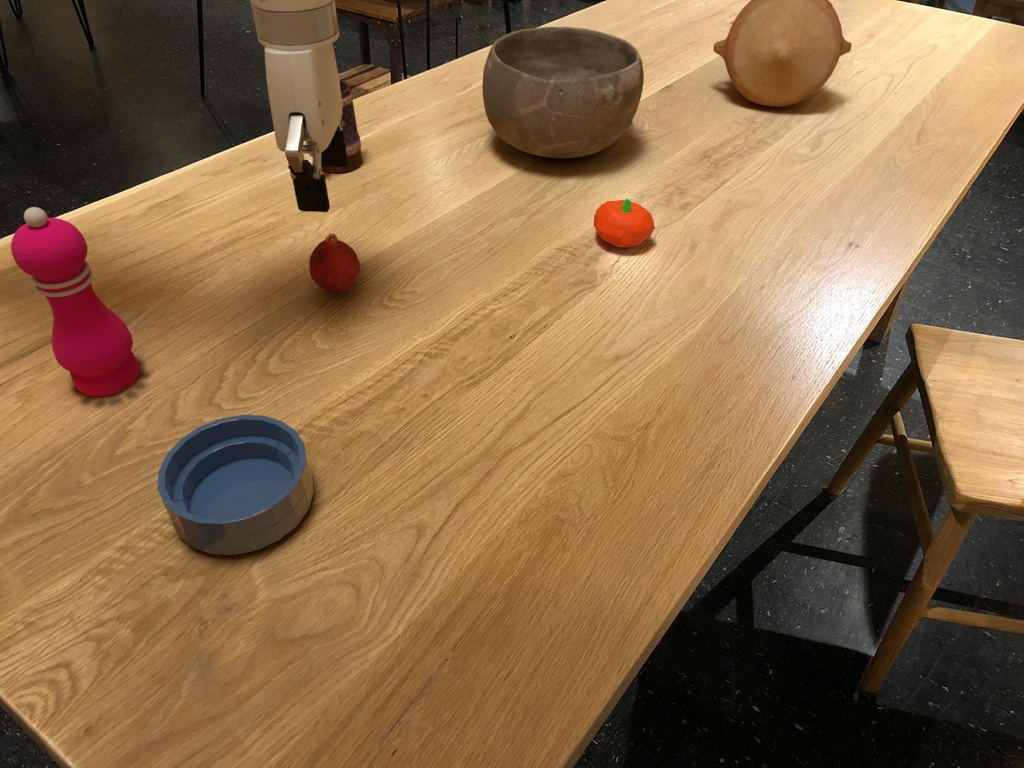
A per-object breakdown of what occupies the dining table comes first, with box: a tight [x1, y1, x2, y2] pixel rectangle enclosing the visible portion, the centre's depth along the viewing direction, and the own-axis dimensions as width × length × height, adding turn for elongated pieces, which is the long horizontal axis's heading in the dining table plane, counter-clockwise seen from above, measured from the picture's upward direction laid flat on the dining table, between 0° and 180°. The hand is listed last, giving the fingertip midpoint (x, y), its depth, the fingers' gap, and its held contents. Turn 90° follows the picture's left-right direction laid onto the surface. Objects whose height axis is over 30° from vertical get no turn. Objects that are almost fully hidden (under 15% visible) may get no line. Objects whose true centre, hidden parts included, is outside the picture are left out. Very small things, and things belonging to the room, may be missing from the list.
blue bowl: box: [157, 414, 315, 556], centre depth 67 cm, size 12×12×5 cm
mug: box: [305, 79, 363, 174], centre depth 111 cm, size 10×7×12 cm
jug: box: [712, 0, 853, 108], centre depth 136 cm, size 20×19×30 cm
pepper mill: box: [10, 206, 140, 397], centre depth 74 cm, size 7×7×20 cm
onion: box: [308, 233, 361, 294], centre depth 90 cm, size 6×6×8 cm
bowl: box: [481, 26, 645, 159], centre depth 117 cm, size 24×24×15 cm
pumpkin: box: [593, 198, 656, 249], centre depth 100 cm, size 7×8×6 cm
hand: (324, 186), depth 83 cm, fingers open, 9 cm apart
